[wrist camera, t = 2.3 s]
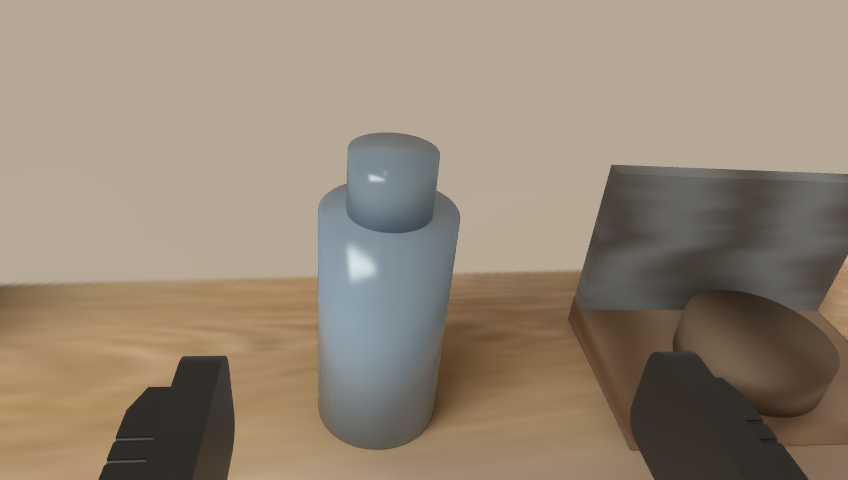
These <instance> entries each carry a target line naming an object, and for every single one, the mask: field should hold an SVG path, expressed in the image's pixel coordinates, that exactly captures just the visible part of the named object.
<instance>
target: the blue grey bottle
mask: <svg viewBox="0 0 848 480" xmlns="http://www.w3.org/2000/svg"><path fill="white" fill-rule="evenodd" d="M439 159H440V152H439V150H438V149H437V147H436V146H435V145H433V144H432V143H430V142H428V141H426V140H424V139H421V138H419V137H415V136H412V135H407V134H400V133H373V134H368V135H364V136H360V137H358V138H356V139H354V140H353V141H351V142H350V144H349V146H348V160H347V161H348V162H347V184H344V185H342V186H339V187H337V188H335V189H333V190H332V191H330V192H329V193H327V194H326V195H325V196H324V197H323V199H322V200H321V202H320V204H319V208H318V410H319V414H320V417H321V420H322V422H323V423H324V425H325V427H326V428H327V429H328V430H329V431H330V432H331V433H332V434H333V435H334V436H335V437H337V438H338V439H340V440H341V441H343V442H345V443H347V444H350V445H353V446H355V447H359V448H364V449H375V450H380V449H389V448H395V447H398V446H401V445H404V444H406V443H408V442H410V441H412V440H413V439H415V438H416V437H418V436H419V435H420V434H421V433H422V432H423V431H424V430H425V429H426V427H427V426H428V424H429V422H430V420H431V418H432V414H433V408H434V401H435V394H436V387H437V379H438V372H439V365H440V358H441V351H442V344H443V337H444V330H445V323H446V316H447V309H448V302H449V295H450V287H451V280H452V273H453V266H454V259H455V252H456V244H457V238H458V231H459V224H460V214H459V211H458V209H457V207H456V205H455V204H454V203H453V202H452V201H451V200H450V199H449V198H448V197H446V196H445V195H443V194H442V193H440V192H438V191H436V186H437V177H438V167H439Z"/></svg>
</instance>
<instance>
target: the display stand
mask: <svg viewBox="0 0 848 480" xmlns="http://www.w3.org/2000/svg"><path fill="white" fill-rule="evenodd" d="M847 255H848V174H829V173H804V172H778V171H751V170H728V169H727V170H726V169H703V168H678V167H653V166H628V165H625V166H624V165H611V169H610V173H609V176H608V180H607V183H606V187H605V191H604V194H603V198H602V201H601V205H600V209H599V212H598V216H597V220H596V223H595V227H594V231H593V234H592V238H591V241H590V245H589V248H588V252H587V256H586V259H585V263H584V266H583V270H582V274H581V277H580V281H579V284H578V288H577V292H576V295H575V297H574V299H573V303H572V306H571V310H570V314H569V317H568V319H569V321H570V323H571V325H572V327H573V329H574V331H575V334H576V336H577V338H578V340H579V342H580V344H581V346H582V348H583V350H584V352H585V355H586V357H587V359H588V361H589V363H590V365H591V367H592V369H593V371H594V374H595V376H596V378H597V380H598V382H599V384H600V386H601V388H602V390H603V392H604V395H605V397H606V399H607V401H608V403H609V405H610V407H611V409H612V411H613V413H614V416H615V418H616V420H617V422H618V424H619V426H620V428H621V430H622V432H623V434H624V437H625V439H626V441H627V443H628V445H629V447H630V449H631V450H639V448H638V446H637V444H636V442H635V440H634V437H633V434H632V431H631V426H630V410H631V405H632V402H633V400H634V397H635V394H636V391H637V388H638V386H639V383H640V380H641V377H642V374H643V371H644V369H645V366H646V363H647V360H648V358H649V356H650V355H651V354H652V353H653V352H663V351H692V352H695V353H696V354H698V355H699V356H700V358H701V359H702V360H703V362H704V363H705V365H706V366H707V367H708V369H709V370H710V371H711V373H712V374H713V376H714V377H715V378H721V377H722V378H723V379H724V380H725V381H727V382H728V383H729V384H731V385H732V386H733V387H734V388H736V389H737V390H738V391H739V392H741V393H742V394H743V395H744V396H746V397H747V398H748V400H749V401H750V402H751V404H752V405H753V406H754V408H755V409H756V410H757V412H758V413H759V414H760V416H761V417H762V418H763V423H764V424H767V425H768V426H769V428H770V429H771V430H772V432H773V433H774V434H775V436H776V437H777V442H778V443H781V444H782V445H783V446H788V445H823V444H848V340H847V339H846V338H845V337H844V336H843V335H842V334H840V333H839V332H838V331H837V330H836V329H835V328H834V327H833V326H832V325H831V324H830V323H829V322H828V321H827V320H826V319H825V318H824V317H823V316H822V315H821V314H820V313H819V312H818V311H817V310H818V308H819V307H820V305H821V303H822V301H823V299H824V297H825V296H826V294H827V292H828V290H829V288H830V286H831V285H832V283H833V281H834V279H835V277H836V275H837V274H838V272H839V270H840V268H841V266H842V265H843V263H844V261H845V259H846V257H847Z"/></svg>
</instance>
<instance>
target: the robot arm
mask: <svg viewBox="0 0 848 480" xmlns="http://www.w3.org/2000/svg"><path fill="white" fill-rule="evenodd" d="M630 426H631V431H632V434H633V437H634V440H635V442H636V444H637V446H638V448H639V450H640V452H641V454H642V456H643V458H644V460H645V462H646V464H647V466H648V468H649V470H650V472H651V474H652V476H653V478H654V480H808V478H807V477H806V476H805V474H804V473H803V472H802V470H801V469H800V468H799V466H798V465H797V464H796V462H795V461H794V460H793V458H792V457H791V456H790V454H789V453H788V452H787V450H786V449H785V448H784V446H783V445H782V444H781V443H778V442H777V437H776V436H775V434H774V433H773V432H772V430H771V429H770V428H769V426H768V425H767V424H764V423H763V418H762V417H761V416H760V414H759V413H758V412H757V410H756V409H755V408H754V406H753V405H752V404H751V402H750V401H749V400H748V398H747V397H746V396H744V395H743V394H742V393H741V392H739V391H738V390H737V389H736V388H734V387H733V386H732V385H731V384H729V383H728V382H727V381H725V380H724V379H723V378H722V377H721V378H715V377H714V376H713V374H712V373H711V371H710V370H709V369H708V367H707V366H706V365H705V363H704V362H703V360H702V359H701V358H700V356H699V355H698V354H696V353H695V352H692V351H663V352H653V353H652V354H651V355H650V356H649V358H648V360H647V363H646V366H645V369H644V371H643V374H642V377H641V380H640V383H639V386H638V388H637V391H636V394H635V397H634V400H633V402H632V405H631V410H630ZM234 430H235V419H234V408H233V399H232V390H231V382H230V373H229V364H228V359H227V357H226V356H184V357H182V358H181V360H180V362H179V364H178V367H177V370H176V373H175V376H174V379H173V382H172V385H171V387H148V388H147V389H146V390H145V391H144V392H143V393H142V395H141V396H140V397H139V398H138V399H137V400H136V401H135V402H134V403H133V404H132V405H131V406H130V407H129V408H128V409H127V410H126V413H125V415H124V418H123V420H122V423H121V425H120V428H119V430H118V433H117V435H116V441H115V442H114V443H113V445H112V448H111V450H110V452H109V455H108V457H107V464H106V465H104V467H103V470H102V472H101V475H100V477H99V480H227V477H228V472H229V467H230V461H231V456H232V451H233V444H234Z"/></svg>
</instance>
